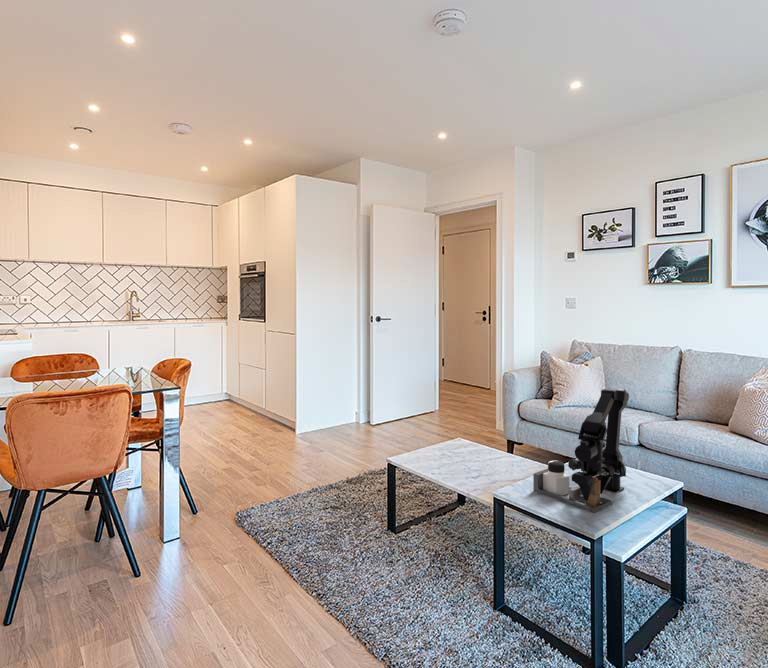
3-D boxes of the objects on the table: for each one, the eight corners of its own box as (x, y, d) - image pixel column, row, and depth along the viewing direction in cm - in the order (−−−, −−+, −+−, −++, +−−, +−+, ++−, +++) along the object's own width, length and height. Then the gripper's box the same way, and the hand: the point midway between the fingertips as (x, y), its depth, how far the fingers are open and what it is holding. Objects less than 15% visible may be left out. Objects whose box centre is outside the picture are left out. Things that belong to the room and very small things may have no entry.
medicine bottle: (569, 493, 189) (570, 463, 188) (555, 497, 186) (556, 466, 185) (556, 487, 195) (556, 458, 194) (542, 490, 192) (542, 460, 191)
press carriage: (582, 495, 186) (582, 470, 185) (603, 503, 179) (604, 477, 178) (568, 501, 181) (569, 475, 180) (591, 509, 174) (591, 482, 173)
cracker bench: (551, 484, 199) (551, 467, 198) (612, 504, 178) (612, 485, 178) (533, 491, 192) (533, 473, 191) (594, 513, 171) (594, 493, 171)
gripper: (587, 444, 189) (587, 484, 190) (558, 454, 178) (558, 496, 179) (615, 451, 180) (615, 493, 181) (586, 462, 169) (586, 506, 170)
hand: (593, 497), depth 178 cm, fingers open, 9 cm apart
